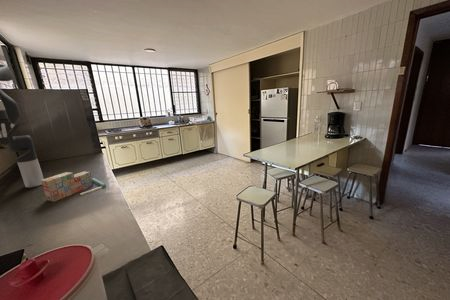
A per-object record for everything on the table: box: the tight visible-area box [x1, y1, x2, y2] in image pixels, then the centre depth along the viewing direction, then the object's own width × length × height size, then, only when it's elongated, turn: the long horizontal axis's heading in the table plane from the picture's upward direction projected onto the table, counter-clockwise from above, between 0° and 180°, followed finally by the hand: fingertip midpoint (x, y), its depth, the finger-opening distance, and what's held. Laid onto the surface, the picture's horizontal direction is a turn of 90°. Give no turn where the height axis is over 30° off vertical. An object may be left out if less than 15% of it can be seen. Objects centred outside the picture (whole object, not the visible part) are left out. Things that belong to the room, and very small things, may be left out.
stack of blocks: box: [41, 170, 94, 203], centre depth 108 cm, size 21×6×12 cm, turn 158°
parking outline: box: [79, 177, 107, 196], centre depth 115 cm, size 19×13×2 cm
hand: (5, 144), depth 93 cm, fingers closed
